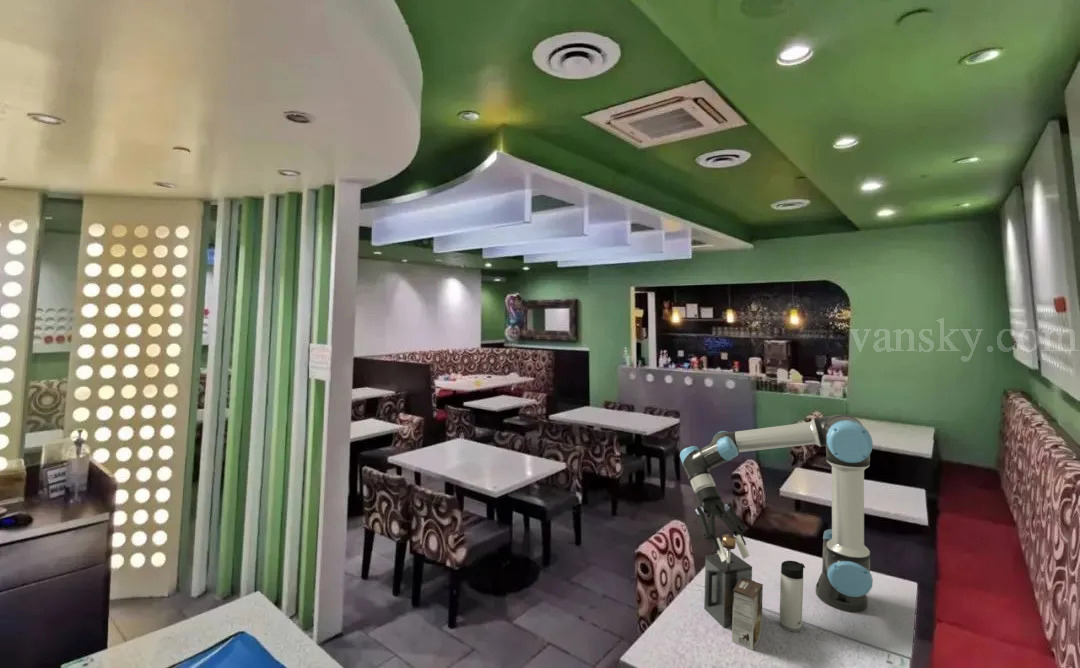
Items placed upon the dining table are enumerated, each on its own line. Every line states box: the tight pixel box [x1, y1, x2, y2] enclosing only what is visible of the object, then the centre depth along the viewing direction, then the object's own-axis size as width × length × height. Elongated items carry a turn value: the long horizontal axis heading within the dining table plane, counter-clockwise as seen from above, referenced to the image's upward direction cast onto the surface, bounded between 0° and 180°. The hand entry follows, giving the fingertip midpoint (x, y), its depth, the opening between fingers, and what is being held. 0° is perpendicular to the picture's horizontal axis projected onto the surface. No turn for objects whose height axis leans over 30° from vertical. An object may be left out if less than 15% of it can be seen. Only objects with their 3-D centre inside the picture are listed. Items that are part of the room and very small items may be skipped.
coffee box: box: [731, 577, 764, 651], centre depth 145 cm, size 9×6×16 cm
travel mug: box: [778, 560, 806, 633], centre depth 151 cm, size 6×7×20 cm
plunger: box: [721, 533, 737, 563], centre depth 156 cm, size 8×8×24 cm
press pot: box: [703, 551, 753, 629], centre depth 156 cm, size 13×10×18 cm
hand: (735, 558), depth 152 cm, fingers open, 7 cm apart
